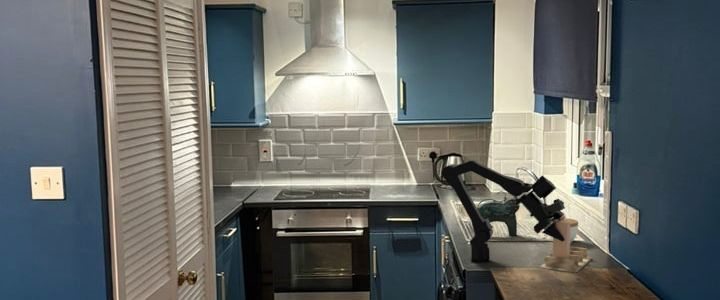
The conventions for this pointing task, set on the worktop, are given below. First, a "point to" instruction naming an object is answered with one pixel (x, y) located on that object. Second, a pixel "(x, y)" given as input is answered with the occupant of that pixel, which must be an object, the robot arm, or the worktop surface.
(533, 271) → the worktop surface
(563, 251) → the tan rectangular block
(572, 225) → the lidded bowl
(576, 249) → the drying rack
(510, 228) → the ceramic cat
